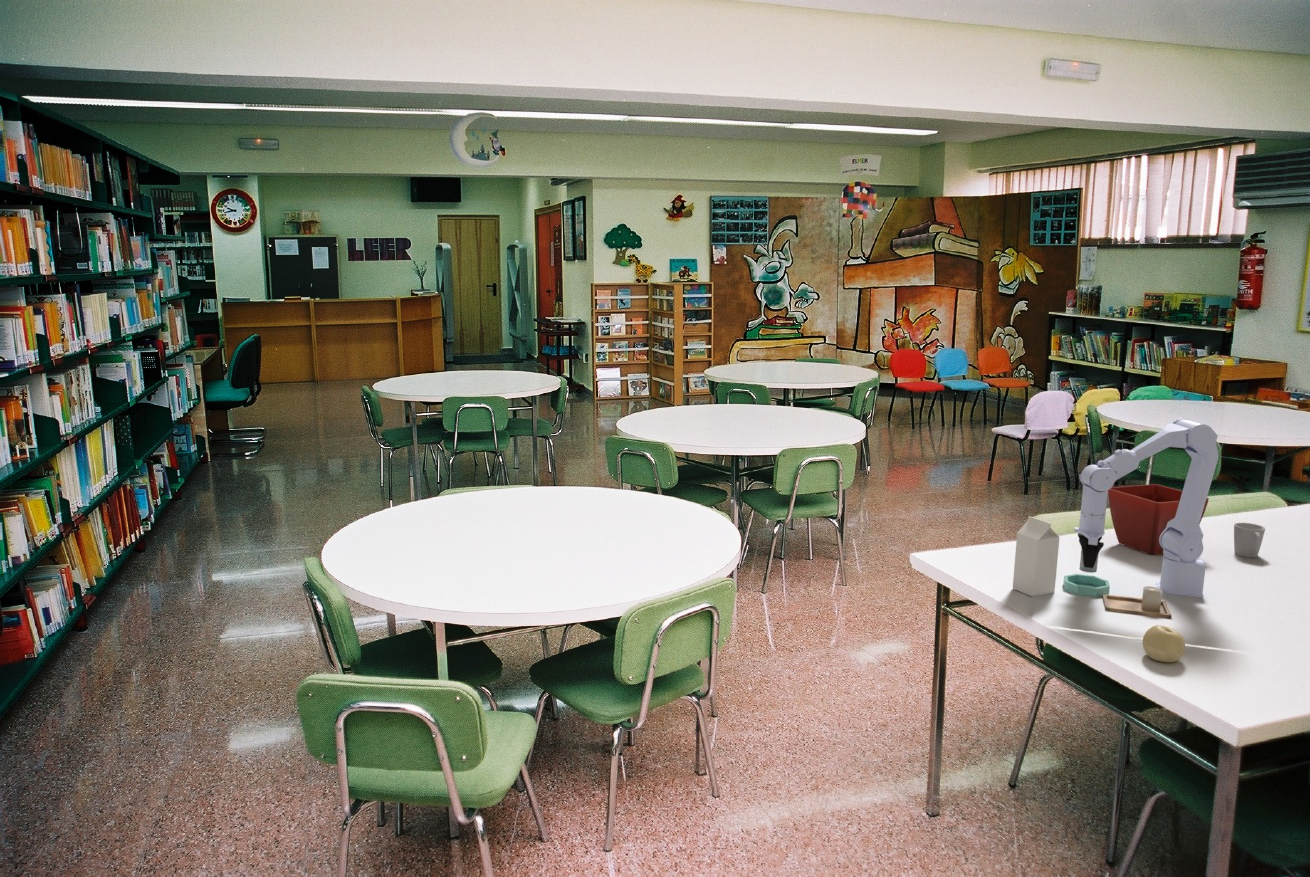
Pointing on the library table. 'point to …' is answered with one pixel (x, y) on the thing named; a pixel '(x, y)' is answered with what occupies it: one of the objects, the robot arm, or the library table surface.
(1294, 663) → the library table surface
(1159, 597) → the pebble light
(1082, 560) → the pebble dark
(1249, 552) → the cup
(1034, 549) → the milk carton
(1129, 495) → the plant pot
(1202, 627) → the library table surface
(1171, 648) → the apple
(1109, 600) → the tray
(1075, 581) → the dish
